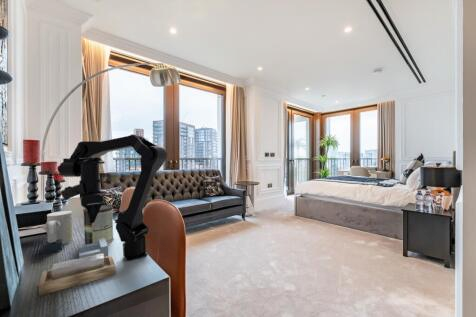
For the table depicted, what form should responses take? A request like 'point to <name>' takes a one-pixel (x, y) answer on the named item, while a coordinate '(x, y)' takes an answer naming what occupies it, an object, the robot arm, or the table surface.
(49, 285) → the oak tray
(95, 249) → the bracket
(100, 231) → the coffee can
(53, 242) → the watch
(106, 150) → the robot arm
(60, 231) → the cup
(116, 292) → the table surface
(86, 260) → the steel block
